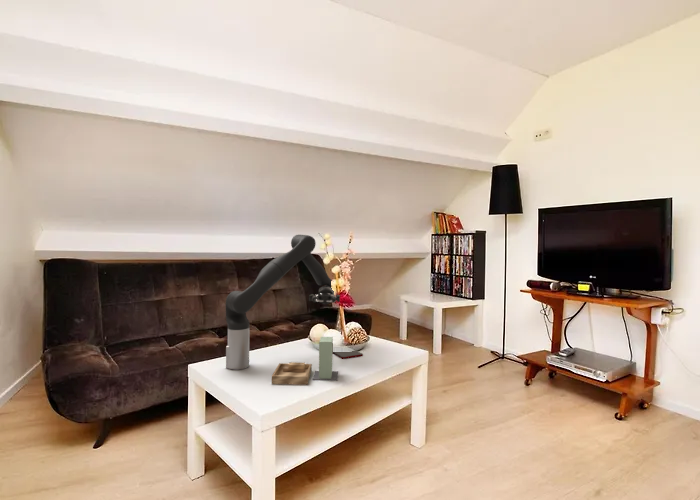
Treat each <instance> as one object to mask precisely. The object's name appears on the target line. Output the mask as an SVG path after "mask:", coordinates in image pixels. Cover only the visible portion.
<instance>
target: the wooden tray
mask: <svg viewBox="0 0 700 500" xmlns="http://www.w3.org/2000/svg"><path fill="white" fill-rule="evenodd" d="M288 365H289V363H282V362H281V363H278V365H277V366H276V368H275V370H274V371H273V373H272V375H271V385H300V386H301V385H305V386H308V383H309V380H310V378H311V375H312V372H313V371H312V370H313V369H312V368H313V365H312V363H305V366H306V369H305V372H283V368H284V366H288Z"/></svg>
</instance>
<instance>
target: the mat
mask: <svg viewBox="0 0 700 500" xmlns="http://www.w3.org/2000/svg"><path fill="white" fill-rule="evenodd" d="M338 378H339V370H332V377H331V379H325V378H319V370H315V371H314V374H313V377H312V381H338Z"/></svg>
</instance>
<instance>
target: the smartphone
mask: <svg viewBox="0 0 700 500" xmlns="http://www.w3.org/2000/svg"><path fill="white" fill-rule="evenodd" d="M333 356H336V357H338V358H340V359H341V360H347V359H354V358H360V357H361V358H362V357H363V356H364V354H363V353H362V352H359V351H358V350H356V351H352V352H333Z"/></svg>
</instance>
